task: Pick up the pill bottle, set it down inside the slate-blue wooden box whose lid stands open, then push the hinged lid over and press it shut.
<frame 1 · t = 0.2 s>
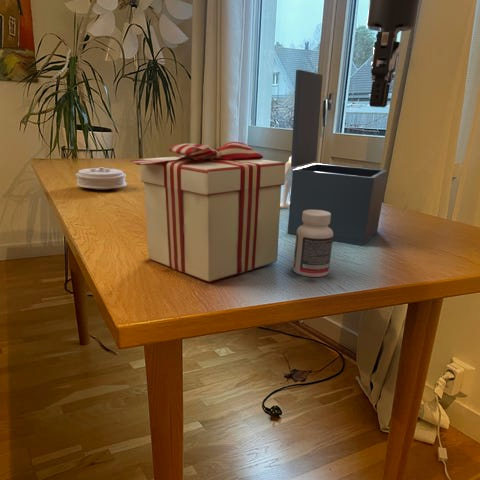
hand: (378, 106, 81), 23 cm above the table, tool pointing down, fingers open, 8 cm apart
figurine: (288, 207, 114), on the table
chest: (333, 232, 93), on the table
chest lid: (307, 119, 88), point 20 cm above the table, hinge at 92.0°
pill bottle: (310, 273, 71), on the table
gift box: (202, 261, 74), on the table
lid: (102, 188, 126), on the table
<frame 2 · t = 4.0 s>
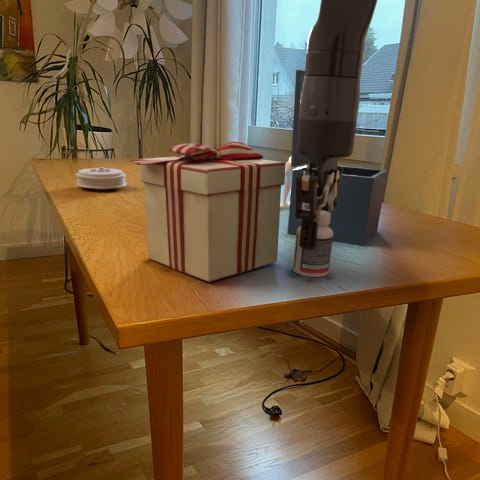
hand: (313, 242, 69), 4 cm above the table, tool pointing down, fingers closed on pill bottle, 5 cm apart
pill bottle: (310, 273, 71), on the table, touching gripper
everything else where it was.
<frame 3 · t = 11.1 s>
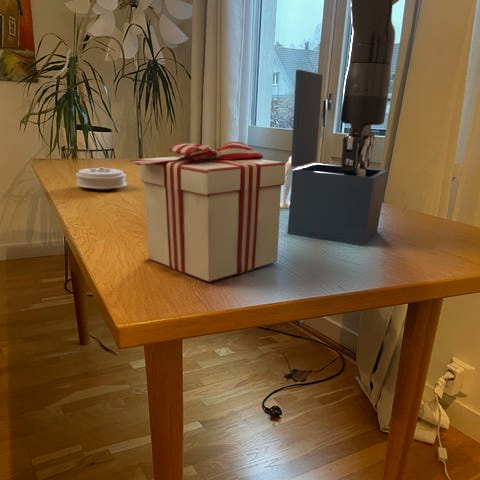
hand: (352, 193, 89), 8 cm above the table, tool pointing down, fingers closed on pill bottle, 5 cm apart
pill bottle: (348, 218, 91), point 3 cm above the table, touching gripper
everything else where it was.
when the fingers open (9 cm above the table, at t = 20.0 s): pill bottle stays where it is, resting on chest.
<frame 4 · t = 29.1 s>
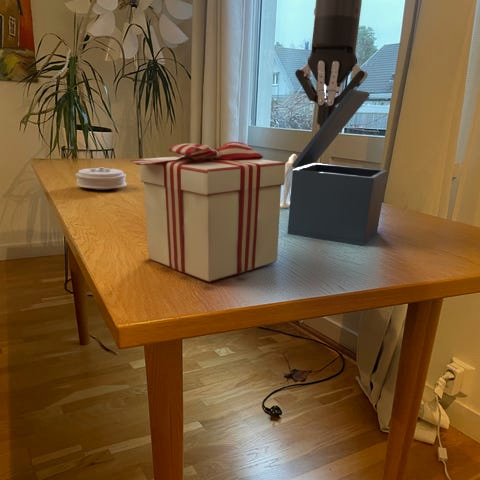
hand: (324, 128, 87), 19 cm above the table, tool pointing down, fingers closed
chest lid: (331, 129, 86), point 19 cm above the table, hinge at 54.7°, touching gripper
pill bottle: (346, 231, 92), point 1 cm above the table, touching chest
everything else where it was.
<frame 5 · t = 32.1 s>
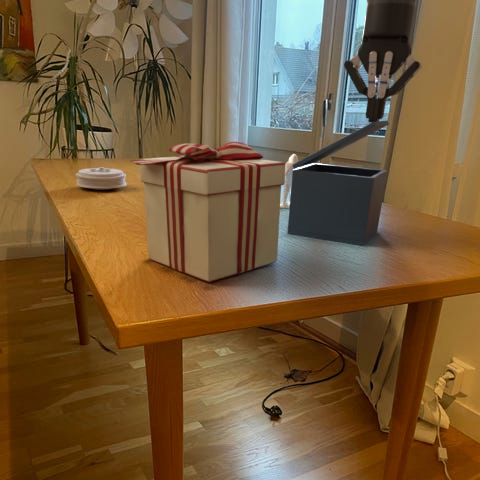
hand: (373, 122, 83), 20 cm above the table, tool pointing down, fingers closed
chest lid: (341, 144, 86), point 16 cm above the table, hinge at 30.8°, touching gripper
everything else where it was.
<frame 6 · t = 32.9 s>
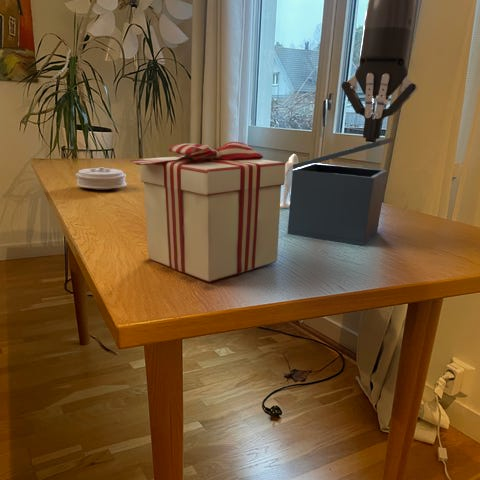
hand: (370, 141, 84), 17 cm above the table, tool pointing down, fingers closed
chest lid: (343, 152, 87), point 15 cm above the table, hinge at 19.2°, touching gripper
everything else where it was.
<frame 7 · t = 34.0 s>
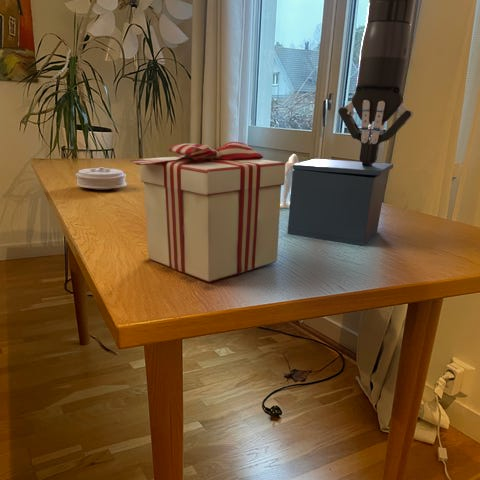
hand: (367, 165, 86), 13 cm above the table, tool pointing down, fingers closed
chest lid: (344, 166, 88), point 12 cm above the table, hinge at 1.6°, touching gripper
everything else where it was.
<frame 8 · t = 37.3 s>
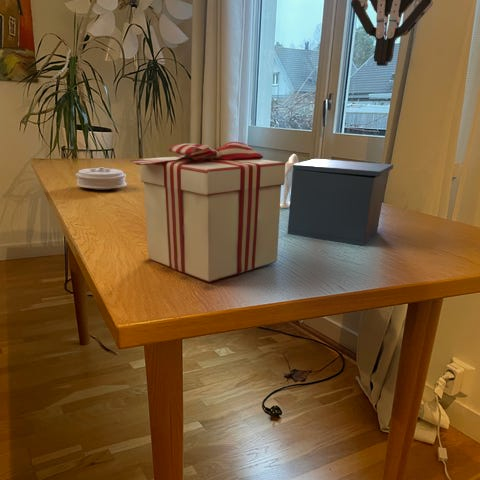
hand: (381, 65, 79), 29 cm above the table, tool pointing down, fingers closed
chest lid: (344, 166, 88), point 12 cm above the table, hinge at 1.1°
everything else where it was.
at the end: chest lid at +1° (first picture: +92°); pill bottle inside the target area in the chest (2.5 cm from its centre), point 0.6 cm above the chest's base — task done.
